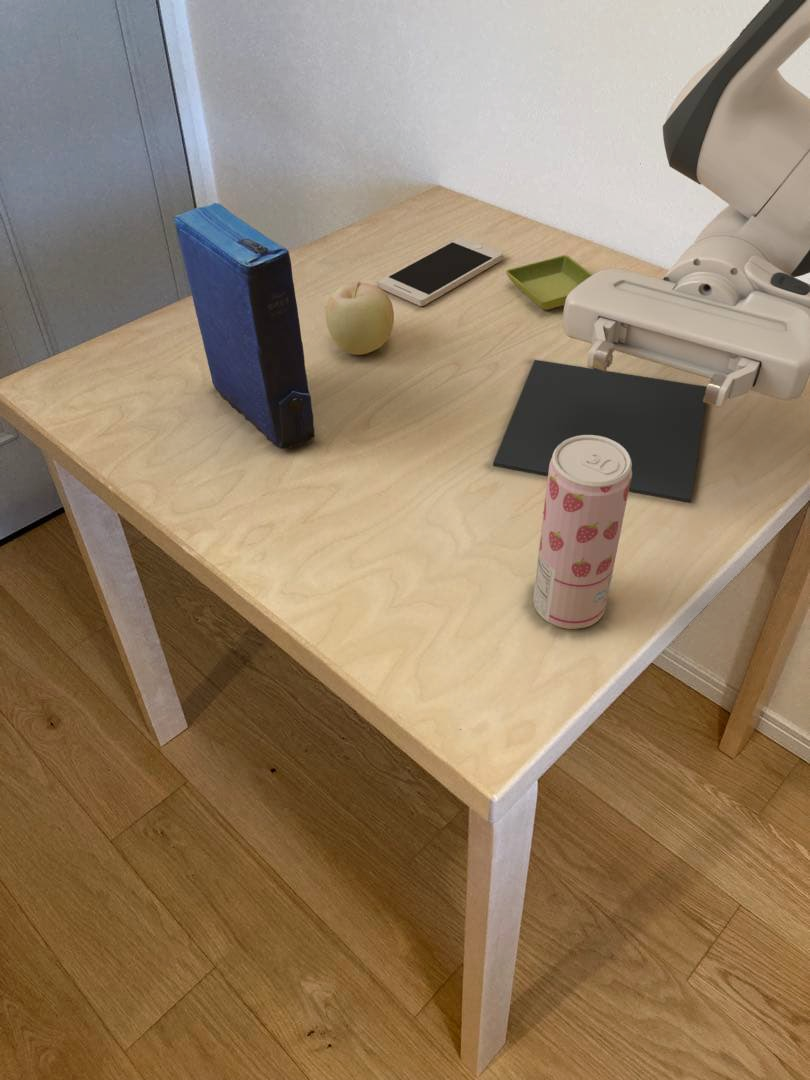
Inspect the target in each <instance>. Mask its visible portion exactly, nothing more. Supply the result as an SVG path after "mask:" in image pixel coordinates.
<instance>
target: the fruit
mask: <svg viewBox="0 0 810 1080" xmlns="http://www.w3.org/2000/svg"><path fill="white" fill-rule="evenodd" d="M324 313H325V322H326V327H327V330H328V332H329V335H330V337H331V339H332V341H333V342H334V343H335V345H336V346H337V347H338V348H339V349H340V350H342V351H344V352H345V353H348V354H350V355H357V356H359V355H361V356H363V355H367V354H369V353H371V352H374V351H377V350H378V349H380V348H381V347H382V346H383V345H385V344H386V342H387V341H388V339H389V338H390V336H391V334H392V331H393V327H394V325H395V324H394V323H395V313H394V305H393V303H392V301H391V298H390V297H389V295H388V294H387V293H386V291H385V290H383V289H381V288H380V287H379V286H377V285H374V284H370V283H366V282H360V281H355V282H349V283H347V284H344V285H342V286H341V287H339V288H337V289H336V290H335V291H334V292H333V293H332V294H331V295H330V297H329V299H328V301H327V303H326V306H325V312H324Z"/></svg>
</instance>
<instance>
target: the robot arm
mask: <svg viewBox="0 0 810 1080" xmlns="http://www.w3.org/2000/svg"><path fill="white" fill-rule="evenodd" d="M808 39H810V0H768V2H766V3H765V4H764V6H763V7H762V8H761V9H760V10H759V11H758V12H757V13H756V15H755V16H754V17H752V19H751V20H750V21H749V23H747V24H746V26H745V27H744V28H743V29H742V30H741V31H740V33H739V35H738V36H737V37H736V38H735V39H734V40H733V42H732V43H731V44H730V45H729V46H728V47H727V48H726V49H725V50H724V51H723V52H722V53H720V54H719V55H718V56H717V57H715V58H714V59H712V60H711V61H710V62H708V63H707V64H706V65H705V66H703V67H702V68H701V69H700V70H698V72H696V73H695V74H694V76H693V77H692V78H690V80H688V82H687V83H686V84H685V86H684V87H683V88H682V89H681V90H680V92H679V93H678V94H677V96H676V97H675V99H674V101H673V102H672V104H671V106H670V107H669V110H668V112H667V114H666V117H665V121H664V123H663V125H662V137H663V145H664V149H665V155H666V160H667V163H668V166H669V167H670V168H671V169H673V170H675V171H676V172H678V173H679V174H681V175H683V176H684V177H686V178H688V179H690V180H691V181H693V182H695V183H696V184H698V185H701V186H703V187H705V188H706V189H708V190H709V191H710V192H712V193H713V194H714V195H716V196H717V197H718V198H720V199H721V200H722V201H723V202H725V203H726V204H728V205H727V206H726V207H725V208H724V209H722V210H721V211H720V212H718V214H717V215H716V216H715V217H713V218H712V219H711V220H710V221H709V222H708V224H706V225H705V227H704V228H703V229H702V230H701V231H700V232H699V234H698V236H697V237H696V239H695V240H694V242H693V243H692V244H691V245H690V246H689V247H687V249H686V250H685V251H684V252H683V253H682V254H681V255H680V257H679V258H678V259H677V261H676V262H675V263H674V264H673V265H672V266H671V268H670V269H669V270H668V271H667V272H666V274H665V275H664V276H663V277H662V278H661V279H660V278H657V277H653V276H649V275H645V274H640V273H639V272H638V273H637V272H635V271H629V270H626V269H622V268H605V269H602V270H600V271H597V272H595V273H594V274H592V276H591V277H589V278H587V279H586V280H585V281H583V282H582V283H581V284H579V285H578V286H577V287H576V288H574V289H573V290H572V291H571V292H570V293H569V294H568V296H567V297H566V301H565V305H563V312H562V328H563V330H564V331H563V332H564V333H565V335H566V336H567V337H569V338H570V339H574V340H579V341H581V342H585V343H587V344H588V343H589V344H590V349H589V351H588V354H587V363H586V368H591V369H596V370H600V371H603V372H605V371H608V370H607V369H608V368H610V366H611V364H613V358H614V355H613V354H614V352H615V351H616V352H618V353H622V354H625V355H629V356H632V357H636V358H638V359H642V360H646V361H649V362H653V363H656V364H660V365H663V366H666V367H670V368H673V369H677V370H679V371H683V372H686V373H690V374H694V375H696V376H700V377H704V378H707V379H710V380H709V381H708V382H707V385H706V387H707V388H706V391H705V393H706V395H705V396H704V399H703V402H705V403H706V404H708V405H712V406H715V407H716V408H720V409H723V408H724V406H725V404H726V402H727V401H728V399H734V398H735V397H739V396H742V395H747V394H749V393H750V392H753V393H754V392H755V393H757V394H760V395H763V396H767V397H771V398H774V399H777V400H781V401H785V402H786V401H792V400H795V399H799V398H801V397H802V396H803V393H804V390H805V388H806V384H808V380H809V377H810V283H807V282H805V281H803V280H800V279H798V277H801V276H802V277H803V276H805V275H807V274H810V97H808V96H807V95H806V94H804V93H803V92H801V91H800V90H798V89H797V88H796V87H794V86H793V84H790V83H789V82H788V81H787V80H786V79H785V78H784V77H783V75H782V74H781V72H780V70H779V68H780V67H781V66H782V65H783V64H784V63H785V62H786V61H787V60H788V59H789V58H790V57H791V56H792V55H794V53H795V52H796V51H797V50H799V48H800V47H801V46H802V45H804V43H806V42H807V41H808Z"/></svg>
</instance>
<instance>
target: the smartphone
mask: <svg viewBox="0 0 810 1080" xmlns="http://www.w3.org/2000/svg"><path fill="white" fill-rule="evenodd" d="M503 259H504V252H503V251H500V250H497V249H495V248H492V247H490V246H487V245H485V244H482V243H480V242H477V241H474V240H473V239H469V238H466V237H464V236H459V237H457V238H454V239H453V240H452V241H450V242H448V243H445V244H444V245H443V246H440V247H439V248H437V249H435V250H433V251H431V252H429V253H428V254H426V255H424V256H422V257H420V258H418V259H416V260H415V261H413V262H411V263H409V264H407V265H405V266H404V267H402V268H399V269H398V270H396V271H394V272H392V273H390V274H388V275H387V276H385V277H383V278H381V279H380V280H379V281H378V283H379V285H378V287H379V288H380V289H382V290H383V291H385V292H388V293H390V294H392V295H395V296H397V297H399V298H401V299H404V300H406V301H407V302H410V303H413V304H415V305H416V306H419V307H423V306H426V305H427V304H429V303H431V302H433V301H435V300H436V299H438V298H439V297H441V296H444V294H447V293H448V292H450V291H452V290H453V289H455V288H456V287H458V286H460V285H462V284H463V283H465V282H467V281H469V280H470V279H472V278H474V277H476V276H477V275H479V274H481V273H483V272H485V270H487V269H489V268H491V267H493V266H494V265H496V264H498V263H500V262H501V261H503Z"/></svg>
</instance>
